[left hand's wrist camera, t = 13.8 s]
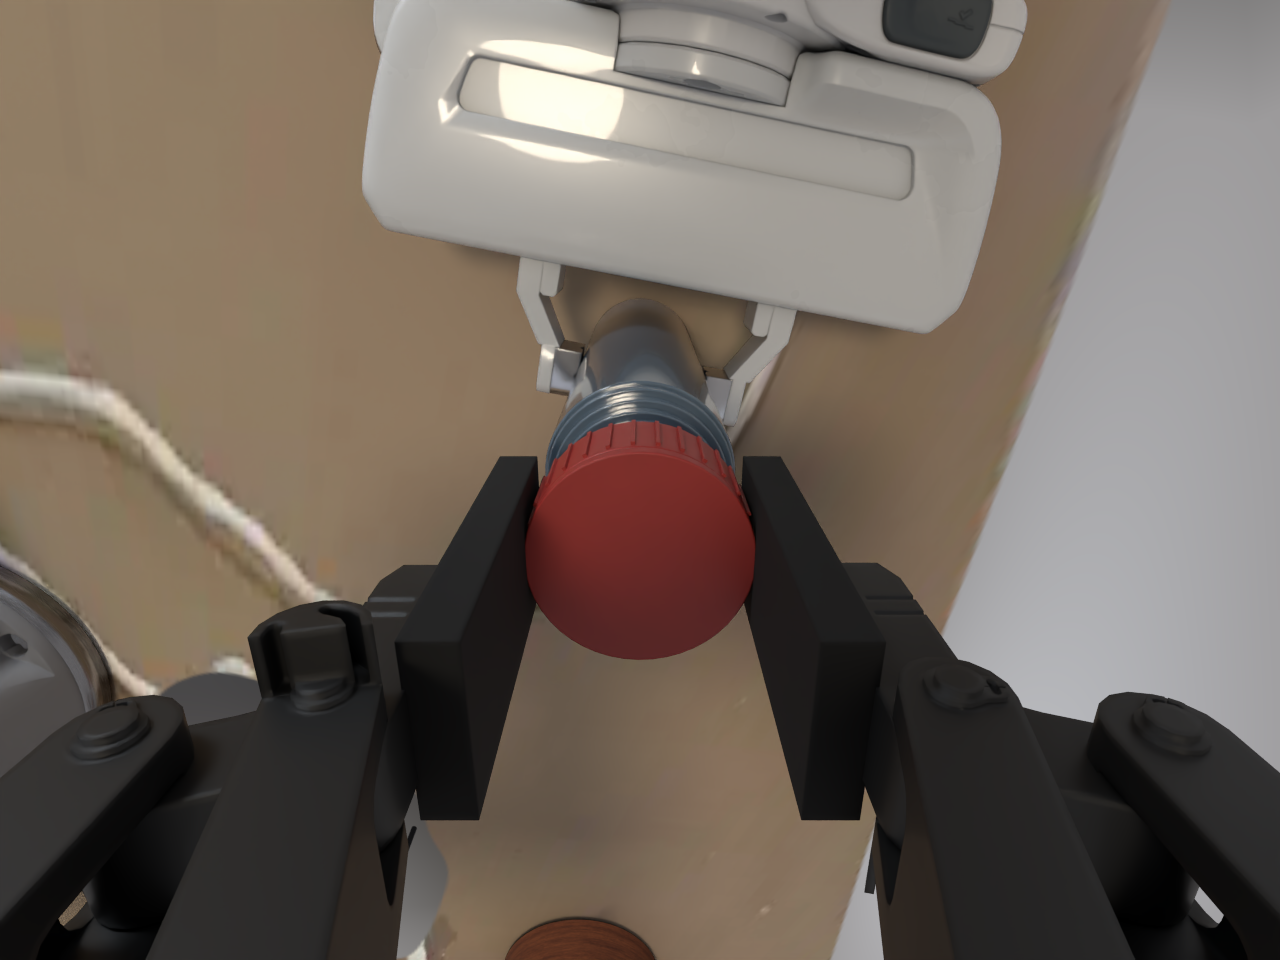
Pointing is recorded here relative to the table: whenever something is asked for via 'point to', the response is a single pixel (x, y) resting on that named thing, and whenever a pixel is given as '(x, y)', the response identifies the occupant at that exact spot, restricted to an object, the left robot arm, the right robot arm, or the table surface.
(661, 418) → the bottle
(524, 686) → the table surface
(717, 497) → the cap
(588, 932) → the music box
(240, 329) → the table surface
